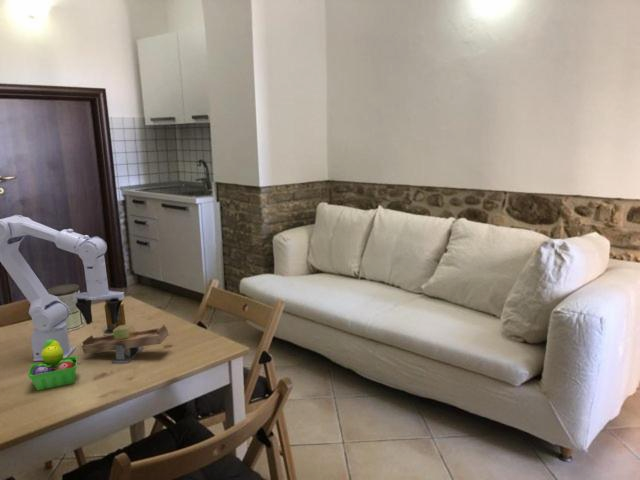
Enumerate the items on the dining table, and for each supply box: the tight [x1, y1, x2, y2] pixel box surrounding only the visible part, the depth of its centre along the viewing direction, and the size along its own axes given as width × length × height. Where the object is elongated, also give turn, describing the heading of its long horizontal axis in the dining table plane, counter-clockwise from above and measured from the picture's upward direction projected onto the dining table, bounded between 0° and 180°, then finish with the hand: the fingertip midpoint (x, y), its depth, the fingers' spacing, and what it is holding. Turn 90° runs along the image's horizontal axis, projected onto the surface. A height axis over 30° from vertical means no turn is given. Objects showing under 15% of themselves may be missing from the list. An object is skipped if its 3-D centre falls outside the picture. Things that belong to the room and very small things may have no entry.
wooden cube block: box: [112, 323, 136, 341], centre depth 149 cm, size 4×4×4 cm
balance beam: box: [81, 324, 170, 355], centre depth 150 cm, size 24×7×4 cm, turn 85°
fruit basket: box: [27, 339, 78, 391], centre depth 135 cm, size 11×9×11 cm
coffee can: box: [46, 283, 85, 332], centre depth 174 cm, size 10×10×14 cm
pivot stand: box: [111, 344, 145, 364], centre depth 150 cm, size 5×10×5 cm, turn 175°
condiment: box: [101, 300, 128, 336], centre depth 170 cm, size 7×8×12 cm
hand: (102, 322), depth 149 cm, fingers open, 7 cm apart
